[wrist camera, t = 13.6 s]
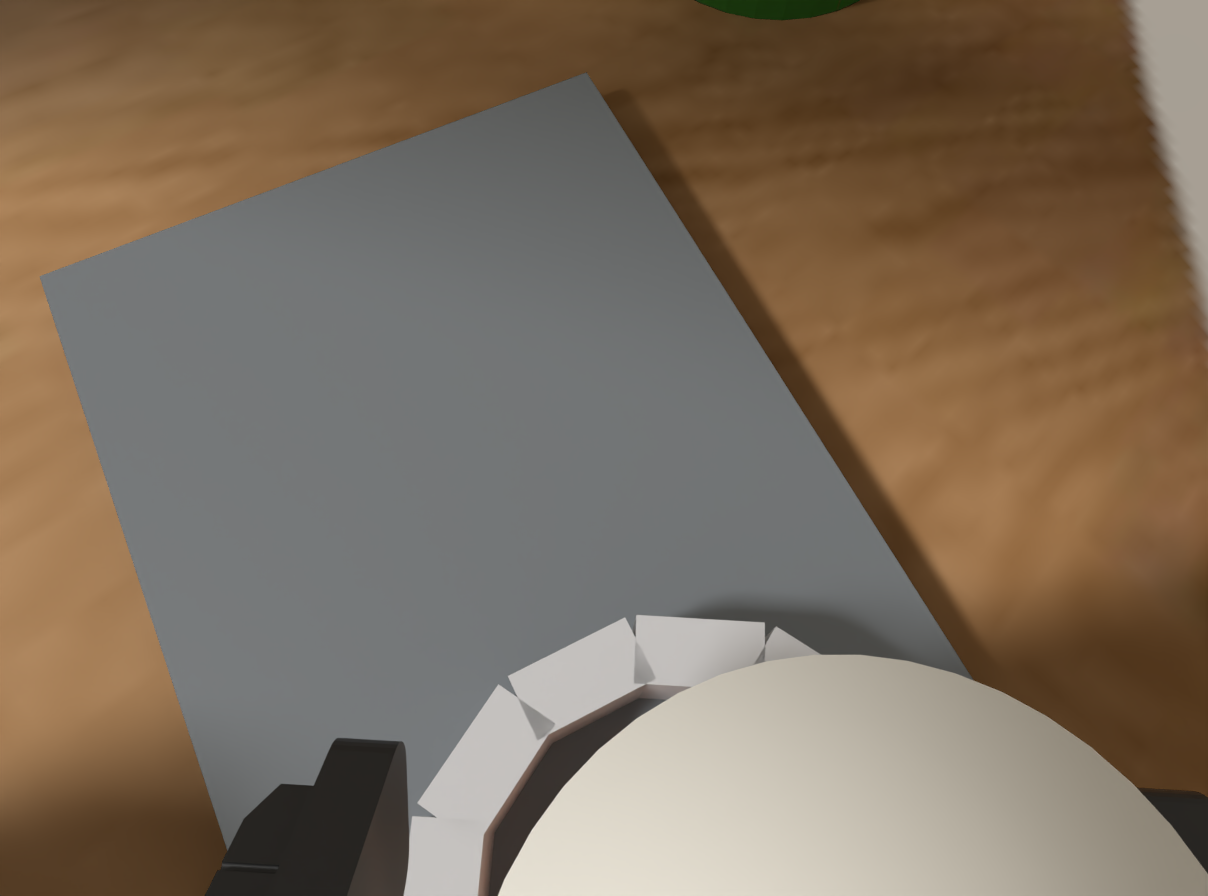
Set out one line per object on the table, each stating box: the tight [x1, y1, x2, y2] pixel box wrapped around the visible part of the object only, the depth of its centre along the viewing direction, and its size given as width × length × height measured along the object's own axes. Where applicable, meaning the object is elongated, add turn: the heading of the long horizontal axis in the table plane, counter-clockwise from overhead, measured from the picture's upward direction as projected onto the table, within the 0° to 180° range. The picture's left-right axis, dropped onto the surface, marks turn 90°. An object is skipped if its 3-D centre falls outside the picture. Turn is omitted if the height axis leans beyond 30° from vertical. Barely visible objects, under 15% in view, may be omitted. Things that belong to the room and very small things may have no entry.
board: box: [40, 72, 974, 896], centre depth 18 cm, size 24×14×3 cm, turn 27°
